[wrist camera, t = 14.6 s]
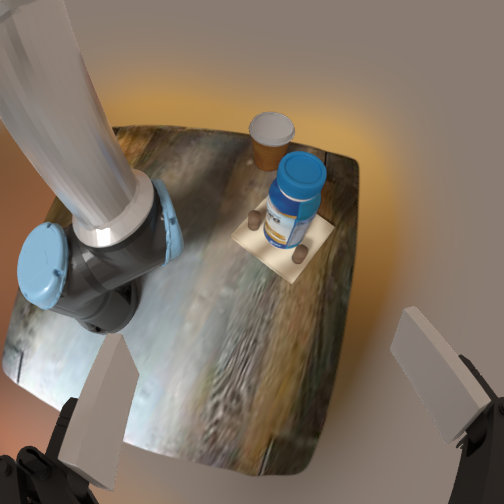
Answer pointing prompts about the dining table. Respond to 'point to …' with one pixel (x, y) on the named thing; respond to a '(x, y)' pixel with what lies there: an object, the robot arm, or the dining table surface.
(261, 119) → the disposable coffee cup
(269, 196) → the beverage bottle
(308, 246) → the peg board
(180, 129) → the dining table surface
